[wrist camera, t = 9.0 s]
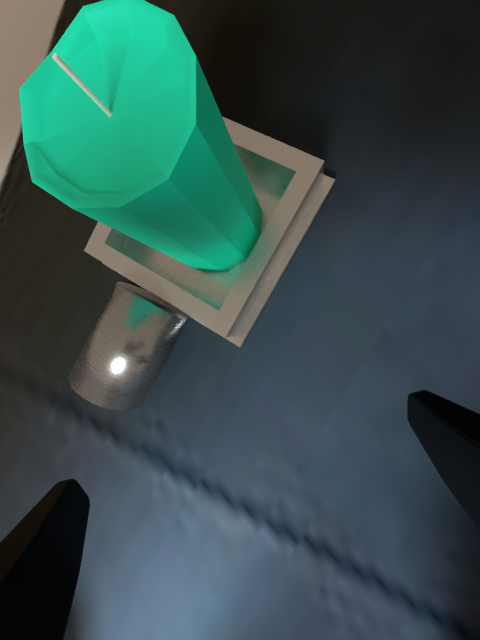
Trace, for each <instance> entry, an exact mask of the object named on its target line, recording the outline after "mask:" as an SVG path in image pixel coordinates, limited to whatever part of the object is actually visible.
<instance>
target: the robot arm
mask: <svg viewBox="0 0 480 640" xmlns="http://www.w3.org/2000/svg"><path fill="white" fill-rule="evenodd" d="M407 417H408V421H409V424H410V426H411V427H412V429H413V431H414V432H415V434H416V436H417V437H418V439H419V441H420V443H421V444H422V446H423V448H424V449H425V451H426V453H427V454H428V456H429V458H430V459H431V461H432V463H433V464H434V466H435V468H436V469H437V471H438V473H439V474H440V476H441V477H442V479H443V481H444V482H445V484H446V485H447V486H448V488H449V489H450V491H451V492H452V493H453V495H454V496H455V498H456V499H457V500H458V502H459V503H460V504H461V506H462V507H463V508H464V510H465V511H466V513H467V514H468V515H469V517H470V518H471V519H472V521H473V522H474V523H475V525H476V526H477V528H478V529H479V530H480V414H478V413H476V412H474V411H472V410H469V409H467V408H465V407H463V406H460V405H458V404H456V403H454V402H451V401H449V400H447V399H445V398H443V397H440V396H438V395H436V394H434V393H431V392H429V391H426V390H421V391H417V392H413V393H410V394H409V395H408V409H407ZM89 508H90V501H89V497H88V495H87V494H86V493H85V491H84V490H83V489H82V487H81V486H80V485H79V483H78V482H77V481H76V480H75V479H69V480H65V481H61V482H58V483H57V484H55V485H54V486H53V487H52V488H51V489H50V491H49V492H48V493H47V494H46V495H45V496H44V497H43V498H42V499H41V500H40V501H39V502H38V503H37V504H36V505H35V506H34V507H33V509H32V510H31V511H30V512H29V513H28V514H27V515H26V516H25V517H24V518H23V519H22V520H21V521H20V522H19V523H18V524H17V525H16V527H15V528H14V529H13V530H12V531H11V532H10V533H9V534H8V535H7V536H6V537H5V538H4V539H3V540H2V541H1V542H0V640H63V639H64V635H65V631H66V626H67V622H68V618H69V614H70V610H71V606H72V602H73V598H74V594H75V589H76V585H77V581H78V576H79V572H80V566H81V561H82V554H83V547H84V541H85V534H86V528H87V521H88V514H89Z"/></svg>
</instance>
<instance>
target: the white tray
mask: <svg viewBox="0 0 480 640" xmlns="http://www.w3.org/2000/svg"><path fill="white" fill-rule="evenodd" d="M222 118H223V120H224V123H225V125H226V127H227V130H228V132H229V134H230V137H231V139H232V141H233V144H234V146H235V148H236V151H237V153H238V155H239V158H240V160H241V162H242V165H243V167H244V169H245V172H246V174H247V176H248V179H249V181H250V183H251V186H252V188H253V191H254V193H255V195H256V198H257V200H258V202H259V205H260V207H261V209H262V222H261V236H260V238H259V240H258V241H257V243H256V245H255V247H254V248H253V250H252V251H251V253H250V254H249V256H248V258H247V259H246V260H244V261H243V262H241V263H239V264H237V265H235V266H234V267H232V268H230V269H228V270H226V271H225V272H212V271H199V270H196V269H194V268H192V267H190V266H188V265H186V264H184V263H182V262H180V261H178V260H176V259H174V258H172V257H170V256H168V255H166V254H164V253H162V252H160V251H158V250H156V249H154V248H152V247H150V246H148V245H146V244H144V243H142V242H140V241H138V240H135V239H133V238H131V237H129V236H127V235H125V234H123V233H121V232H119V231H117V230H115V229H113V228H111V227H109V226H107V225H105V224H103V223H101V222H99V221H98V223H97V225H96V227H95V229H94V231H93V233H92V236H91V238H90V240H89V242H88V244H87V246H86V248H85V250H84V251H85V252H87V253H88V254H90V255H92V256H93V257H95V258H97V259H98V260H100V261H101V262H103V264H105V265H106V266H108V267H110V268H111V269H113V270H115V271H116V272H118V273H119V274H121V275H123V276H124V277H126V278H128V279H129V280H131V281H132V282H134V283H136V284H137V285H139V286H141V287H142V288H144V289H146V290H147V291H146V290H144V289H142V288H139V287H137V286H134V285H131V284H128V283H124V282H117V283H116V285H115V287H114V289H113V291H112V293H111V295H110V297H109V299H108V301H107V303H106V304H105V306H104V308H103V310H102V312H101V314H100V316H99V318H98V320H97V322H96V324H95V326H94V328H93V330H92V332H91V334H90V336H89V338H88V340H87V342H86V344H85V346H84V348H83V350H82V351H81V353H80V355H79V357H78V359H77V361H76V363H75V365H74V367H73V369H72V371H71V373H70V375H69V383H70V385H71V387H72V388H73V390H74V391H75V392H76V393H77V394H79V395H80V396H81V397H83V398H84V399H86V400H88V401H89V402H91V403H93V404H96V405H98V406H101V407H104V408H108V409H113V410H132V409H135V408H137V407H138V406H140V404H141V403H142V401H143V399H144V397H145V395H146V394H147V392H148V390H149V388H150V386H151V384H152V383H153V381H154V379H155V377H156V375H157V373H158V371H159V370H160V368H161V366H162V364H163V362H164V360H165V359H166V357H167V355H168V353H169V351H170V349H171V348H172V346H173V344H174V342H175V340H176V338H177V337H178V335H179V333H180V331H181V329H182V327H183V325H184V324H185V322H186V320H187V316H186V315H188V316H190V317H191V318H193V319H194V320H196V321H198V322H199V323H201V324H203V325H204V326H206V327H207V328H209V329H211V330H212V331H214V332H216V333H217V334H219V335H221V336H222V337H224V338H225V339H227V340H229V341H230V342H232V343H234V344H235V345H237V346H238V347H242V345H243V344H244V342H245V340H246V338H247V337H248V335H249V333H250V331H251V330H252V328H253V326H254V324H255V323H256V321H257V319H258V317H259V316H260V314H261V312H262V310H263V309H264V307H265V305H266V303H267V302H268V300H269V298H270V296H271V295H272V293H273V291H274V289H275V288H276V286H277V284H278V282H279V281H280V279H281V277H282V275H283V274H284V272H285V270H286V268H287V266H288V265H289V263H290V261H291V259H292V258H293V256H294V254H295V252H296V251H297V249H298V247H299V245H300V244H301V242H302V240H303V238H304V237H305V235H306V233H307V231H308V230H309V228H310V226H311V224H312V223H313V221H314V219H315V217H316V216H317V214H318V212H319V210H320V209H321V207H322V205H323V203H324V202H325V200H326V198H327V196H328V195H329V193H330V191H331V189H332V187H333V186H334V184H335V179H333V178H331V177H328V176H326V175H324V163H325V161H324V160H321V159H319V158H317V157H315V156H312V155H310V154H308V153H305V152H303V151H301V150H298V149H296V148H294V147H291V146H289V145H287V144H285V143H282V142H280V141H278V140H275V139H273V138H271V137H268V136H266V135H264V134H261V133H259V132H257V131H254V130H252V129H250V128H248V127H245V126H243V125H241V124H238V123H236V122H234V121H231V120H229V119H227V118H224V117H222ZM148 291H149V292H148Z"/></svg>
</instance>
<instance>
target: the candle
mask: <svg viewBox="0 0 480 640" xmlns="http://www.w3.org/2000/svg"><path fill="white" fill-rule="evenodd" d="M19 92H20V105H21V116H22V129H23V141H24V148H25V152H26V157H27V161H28V166H29V170H30V175H31V179H32V182H33V183H35V184H36V185H38V186H39V187H41V188H42V189H44V190H45V191H47V192H48V193H50V194H51V195H53V196H54V197H56V198H57V199H59V200H60V201H62V202H63V203H65V204H66V205H68V206H69V207H71V208H72V209H74V210H77V211H79V212H81V213H83V214H85V215H87V216H89V217H91V218H93V219H95V220H97V221H99V222H101V223H103V224H105V225H107V226H109V227H111V228H113V229H115V230H117V231H119V232H121V233H123V234H125V235H127V236H129V237H131V238H133V239H135V240H138V241H140V242H142V243H144V244H146V245H148V246H150V247H152V248H154V249H156V250H158V251H160V252H162V253H164V254H166V255H168V256H170V257H172V258H174V259H176V260H178V261H180V262H182V263H184V264H186V265H188V266H190V267H192V268H194V269H196V270H199V271H212V272H225V271H226V270H228V269H230V268H232V267H234V266H235V265H237V264H239V263H241V262H243V261H244V260H246V259H247V258H248V256H249V254H250V253H251V251H252V250H253V248H254V247H255V245H256V243H257V241H258V240H259V238H260V236H261V222H262V209H261V207H260V205H259V202H258V200H257V198H256V195H255V193H254V191H253V188H252V186H251V183H250V181H249V179H248V176H247V174H246V172H245V169H244V167H243V165H242V162H241V160H240V158H239V155H238V153H237V151H236V148H235V146H234V144H233V141H232V139H231V137H230V134H229V132H228V130H227V127H226V125H225V123H224V120H223V118H222V116H221V113H220V111H219V109H218V106H217V104H216V102H215V99H214V97H213V95H212V92H211V90H210V88H209V85H208V83H207V81H206V78H205V76H204V74H203V71H202V69H201V66H200V64H199V62H198V59H197V57H196V55H195V53H194V51H193V50H192V48H191V46H190V44H189V42H188V40H187V38H186V37H185V35H184V33H183V31H182V29H181V27H180V25H179V24H178V22H177V20H176V18H175V16H174V15H172V14H170V13H168V12H166V11H164V10H162V9H160V8H158V7H156V6H154V5H152V4H150V3H148V2H146V1H144V0H104V1H100V2H97V3H93V4H90V5H86V6H83V7H82V9H81V10H80V12H79V13H78V15H77V16H76V17H75V19H74V20H73V22H72V23H71V25H70V26H69V27H68V29H67V30H66V32H65V33H64V35H63V36H62V37H61V39H60V40H59V42H58V43H57V45H56V46H55V47H54V49H53V50H52V51H51V53H50V54H49V55H48V56H47V57H46V58H45V60H44V61H43V62H42V63H41V64H40V65H39V66H38V68H37V69H36V70H35V71H34V72H33V73H32V75H31V76H30V77H29V78H28V79H27V80H26V81H25V83H24V84H23V85H22V86H21V87H20V88H19Z"/></svg>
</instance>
